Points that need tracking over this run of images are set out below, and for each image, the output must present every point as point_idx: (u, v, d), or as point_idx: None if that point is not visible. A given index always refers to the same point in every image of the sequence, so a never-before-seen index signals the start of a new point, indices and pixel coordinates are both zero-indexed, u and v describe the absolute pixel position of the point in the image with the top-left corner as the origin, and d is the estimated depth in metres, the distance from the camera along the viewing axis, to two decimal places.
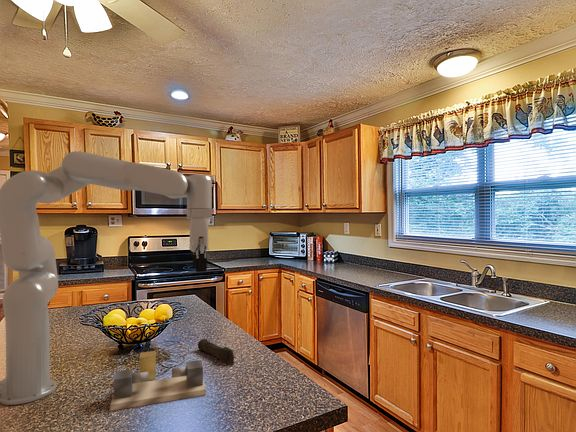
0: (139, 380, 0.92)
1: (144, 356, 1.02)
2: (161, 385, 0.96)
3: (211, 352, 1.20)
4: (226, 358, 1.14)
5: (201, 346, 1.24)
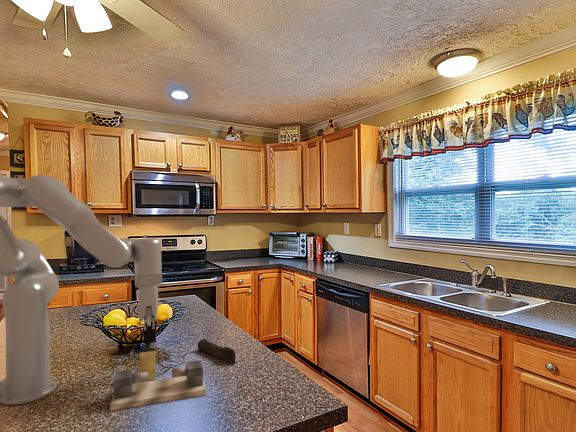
0: (139, 380, 0.92)
1: (144, 356, 1.02)
2: (161, 385, 0.96)
3: (212, 352, 1.20)
4: (227, 357, 1.14)
5: (201, 346, 1.24)
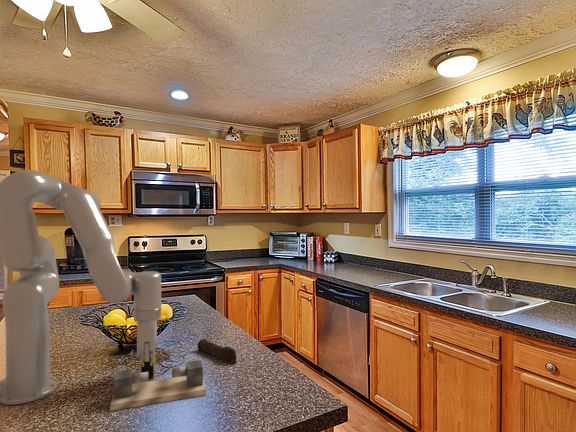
0: (139, 380, 0.92)
1: None
2: (161, 385, 0.96)
3: (212, 352, 1.20)
4: (228, 357, 1.15)
5: (201, 346, 1.24)
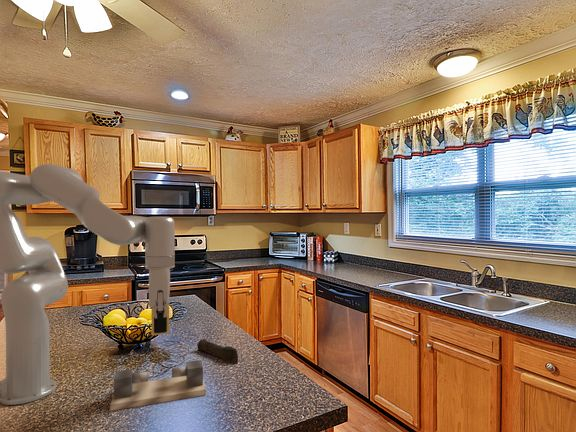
0: (139, 380, 0.92)
1: None
2: (161, 385, 0.96)
3: (213, 352, 1.20)
4: (229, 357, 1.15)
5: (201, 346, 1.24)
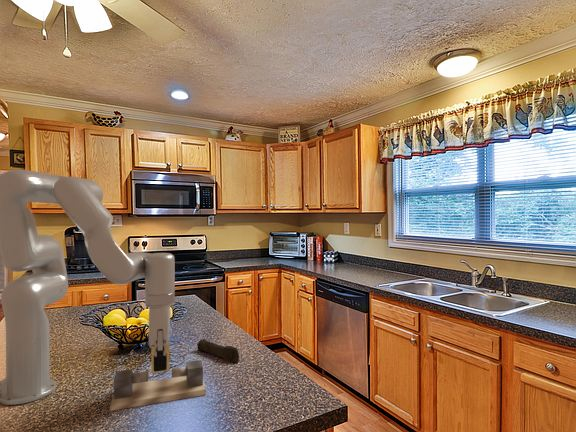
0: (139, 380, 0.92)
1: None
2: (161, 385, 0.96)
3: (213, 351, 1.20)
4: (230, 356, 1.15)
5: (201, 346, 1.24)
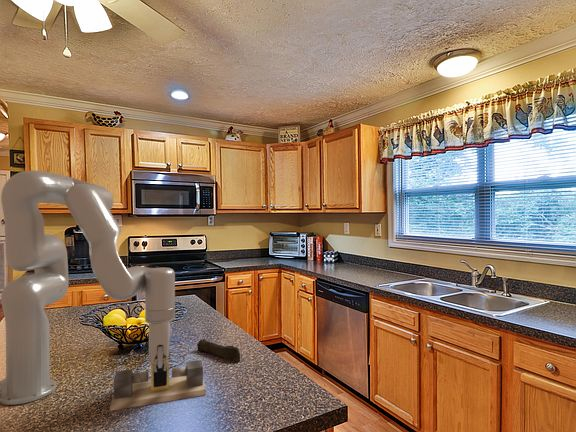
0: (139, 380, 0.92)
1: None
2: None
3: (214, 351, 1.20)
4: (232, 356, 1.16)
5: (201, 346, 1.24)
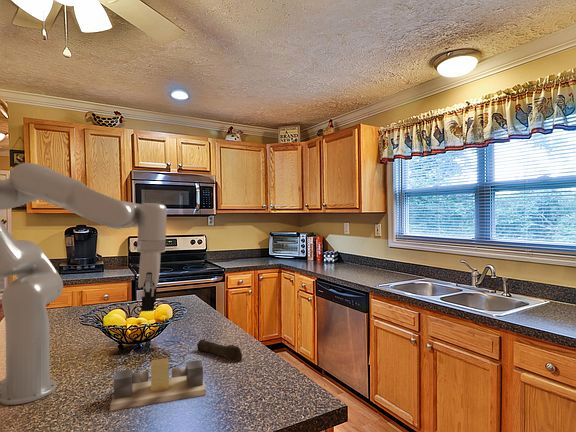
0: (139, 380, 0.92)
1: (156, 364, 0.93)
2: None
3: (214, 351, 1.20)
4: (233, 355, 1.16)
5: (201, 346, 1.24)
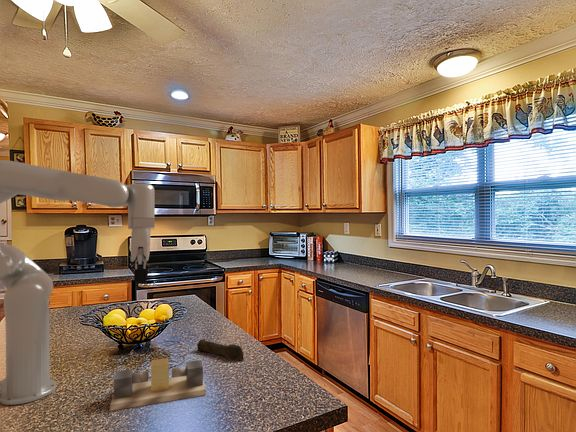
0: (139, 380, 0.92)
1: (156, 364, 0.93)
2: None
3: (215, 351, 1.21)
4: (235, 354, 1.17)
5: (201, 346, 1.24)
